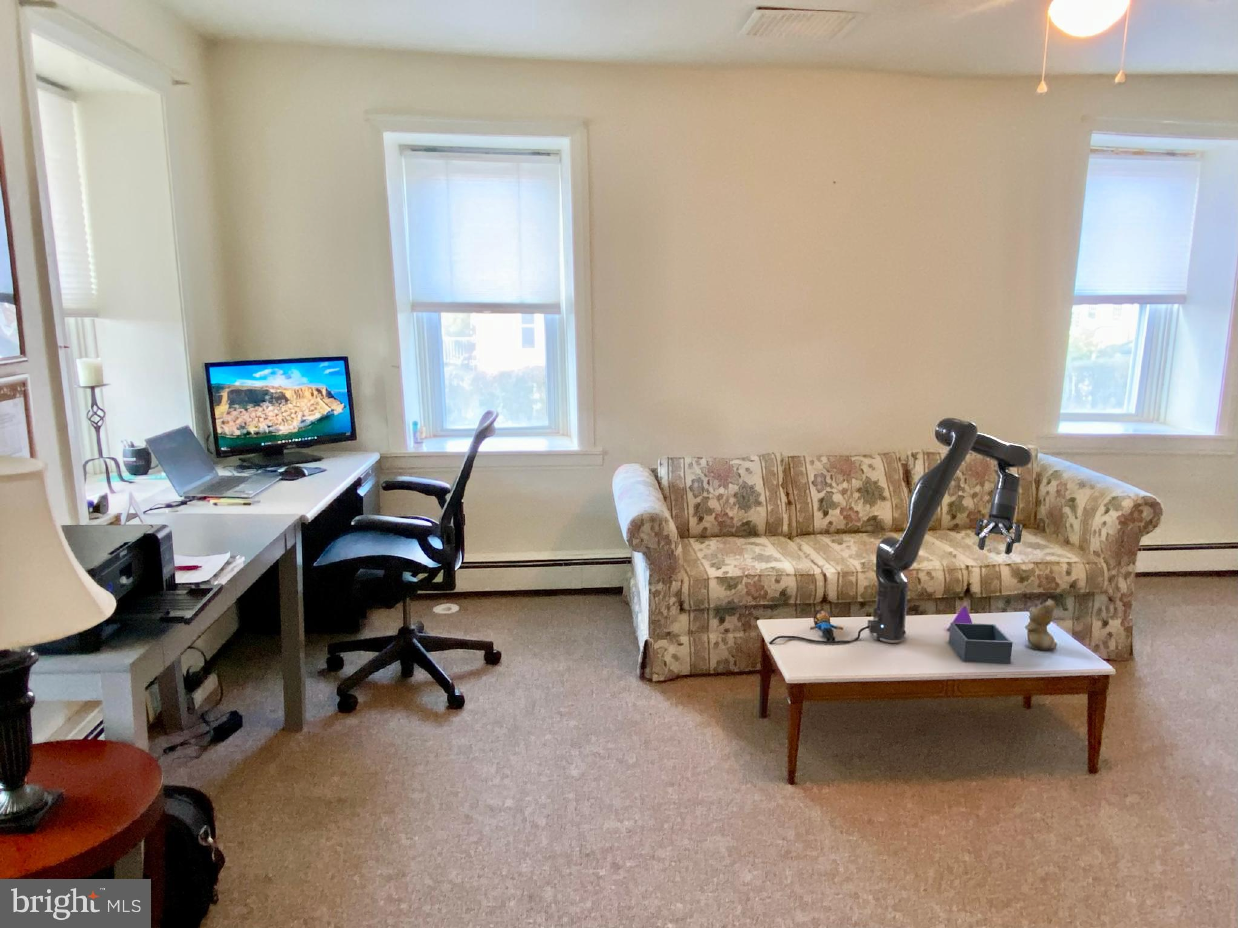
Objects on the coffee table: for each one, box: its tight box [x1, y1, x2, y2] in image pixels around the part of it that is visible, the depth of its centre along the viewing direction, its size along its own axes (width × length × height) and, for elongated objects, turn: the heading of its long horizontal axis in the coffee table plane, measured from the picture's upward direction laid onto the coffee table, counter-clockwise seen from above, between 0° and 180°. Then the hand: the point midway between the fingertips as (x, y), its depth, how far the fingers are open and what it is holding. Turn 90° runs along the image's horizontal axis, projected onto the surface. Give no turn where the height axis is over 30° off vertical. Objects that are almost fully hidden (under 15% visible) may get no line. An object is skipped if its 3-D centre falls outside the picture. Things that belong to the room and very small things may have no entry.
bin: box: [948, 622, 1013, 664], centre depth 233 cm, size 14×14×7 cm
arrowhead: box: [946, 604, 973, 631], centre depth 247 cm, size 10×2×10 cm
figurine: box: [1024, 598, 1058, 651], centre depth 238 cm, size 10×8×15 cm
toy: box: [809, 609, 844, 641], centre depth 248 cm, size 11×6×15 cm
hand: (994, 552), depth 249 cm, fingers open, 8 cm apart
